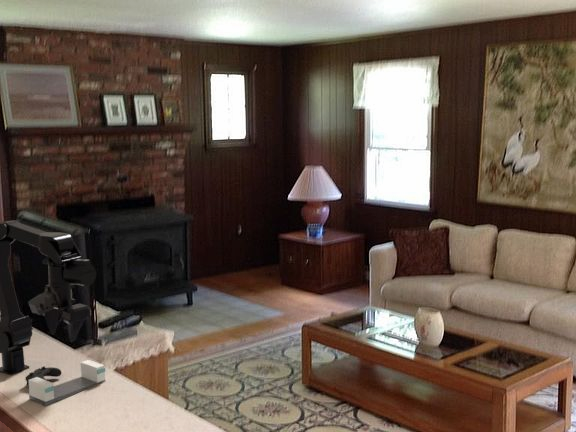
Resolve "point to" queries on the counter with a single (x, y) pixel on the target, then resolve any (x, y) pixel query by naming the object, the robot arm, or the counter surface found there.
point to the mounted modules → (46, 389)
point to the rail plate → (68, 389)
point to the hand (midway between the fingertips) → (62, 337)
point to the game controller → (43, 373)
